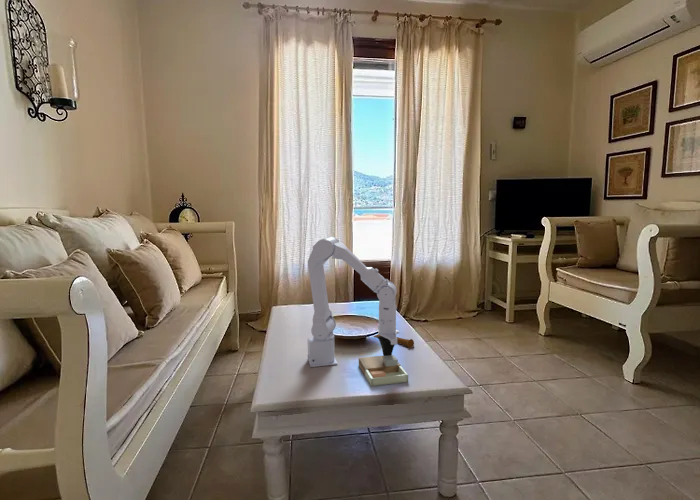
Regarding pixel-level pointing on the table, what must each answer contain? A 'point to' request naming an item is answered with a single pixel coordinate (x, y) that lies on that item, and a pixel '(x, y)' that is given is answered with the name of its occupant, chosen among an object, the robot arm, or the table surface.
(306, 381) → the table surface
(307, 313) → the table surface
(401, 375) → the tray
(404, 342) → the primitive tool
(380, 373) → the terracotta tile
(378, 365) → the walnut board
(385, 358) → the slate tile
